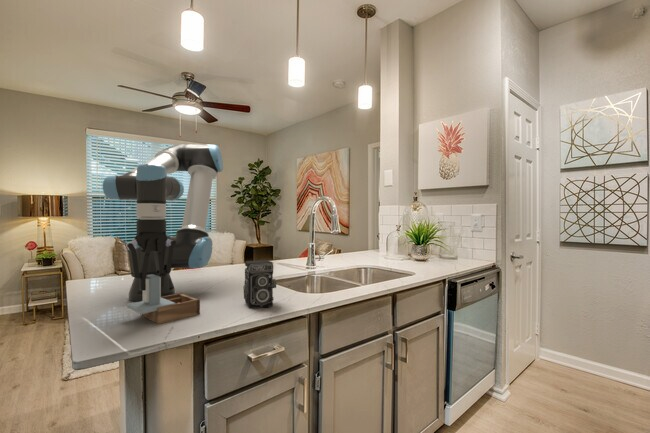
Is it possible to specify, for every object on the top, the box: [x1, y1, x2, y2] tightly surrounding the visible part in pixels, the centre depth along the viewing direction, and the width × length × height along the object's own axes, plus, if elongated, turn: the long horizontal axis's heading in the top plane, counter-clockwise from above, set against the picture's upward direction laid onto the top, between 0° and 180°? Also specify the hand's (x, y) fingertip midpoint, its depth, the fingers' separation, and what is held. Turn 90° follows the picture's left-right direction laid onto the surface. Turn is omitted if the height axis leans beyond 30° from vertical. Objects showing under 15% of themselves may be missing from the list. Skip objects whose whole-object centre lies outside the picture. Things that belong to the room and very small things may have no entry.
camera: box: [242, 259, 277, 309], centre depth 106 cm, size 10×10×15 cm
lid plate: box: [126, 274, 176, 315], centre depth 92 cm, size 10×9×9 cm
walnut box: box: [141, 292, 201, 325], centre depth 96 cm, size 12×12×5 cm
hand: (151, 300), depth 92 cm, fingers closed on lid plate, 2 cm apart
